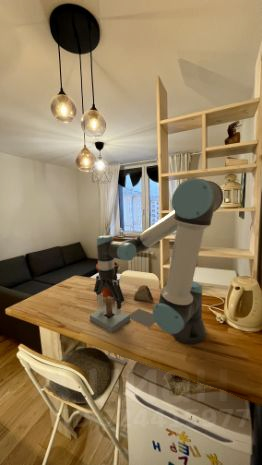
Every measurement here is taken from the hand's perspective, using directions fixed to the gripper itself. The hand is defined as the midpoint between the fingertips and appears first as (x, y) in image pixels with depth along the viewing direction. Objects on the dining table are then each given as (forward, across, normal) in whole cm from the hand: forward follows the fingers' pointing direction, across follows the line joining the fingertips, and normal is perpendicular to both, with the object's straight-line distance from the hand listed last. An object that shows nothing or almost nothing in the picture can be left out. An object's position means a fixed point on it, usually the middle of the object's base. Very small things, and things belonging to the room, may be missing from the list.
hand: (109, 310), depth 96 cm
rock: (+6, 0, -27) cm, 28 cm away
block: (+6, 0, 0) cm, 6 cm away
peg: (+6, 0, 0) cm, 6 cm away
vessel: (+6, +22, -20) cm, 30 cm away
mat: (+6, -12, -12) cm, 18 cm away
